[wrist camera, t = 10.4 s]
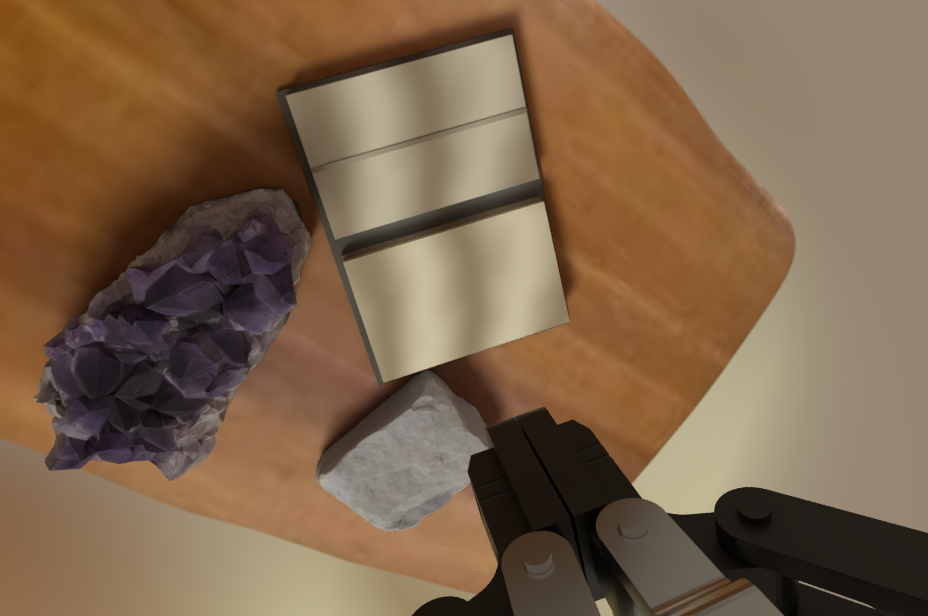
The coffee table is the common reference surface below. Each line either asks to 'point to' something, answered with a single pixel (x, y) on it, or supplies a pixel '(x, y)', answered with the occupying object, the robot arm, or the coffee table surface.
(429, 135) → the laid floor
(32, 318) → the coffee table surface
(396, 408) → the stone block
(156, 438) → the geode
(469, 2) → the coffee table surface
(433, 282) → the beige flat rectangular panel
